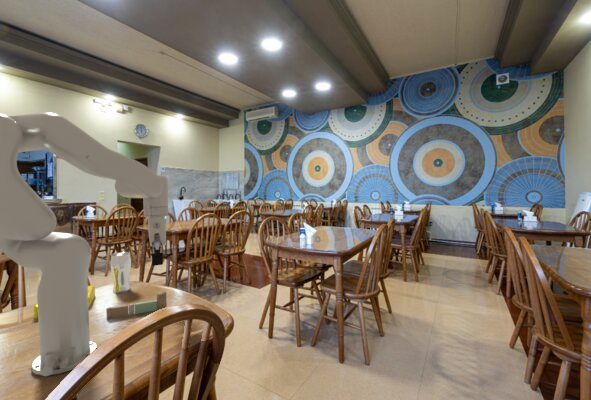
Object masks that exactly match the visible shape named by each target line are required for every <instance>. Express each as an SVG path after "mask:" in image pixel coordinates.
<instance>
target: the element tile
mask: <svg viewBox="0 0 591 400" xmlns="http://www.w3.org/2000/svg"><path fill="white" fill-rule="evenodd" d="M95 298H96V289H95V286H94V285H88V309H89V308H90V307H91V306H92V304H93V302H94V299H95ZM33 316H34V317H33V318H34V319H36V320H38V304H37V302H36V303H35V304H34V305H33Z"/></svg>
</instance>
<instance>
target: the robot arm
mask: <svg viewBox="0 0 591 400" xmlns="http://www.w3.org/2000/svg"><path fill="white" fill-rule="evenodd" d="M32 151H46V152H48V153H51V154H53V155H54V156H56V157H57V158H60V159H62V160H63V161H64V162H66V163H68V164H69V165H72V166H73V167H75V168H77V170H78V169H79V170H80V171H82V172H83V173H85V174H87V175H91V176H95V177H99V178H103V179H109V180H114V189H115V192H116V193H117V194H118V195H120V197H124V198H128V199H143V201H142V205H143V217H144V218H147V230H148V231H147V233H148V239H149V246H150V247H151V266H153V267H154V266H161V265H163V264H164V254H163V253H164V252H163V246H164V247H165V246H167V227H166V226H167V225H166V224H167V223H166V217H167V216H169V194H168V193H169V191H168V189H169V188H168V187H169V186H168V178H167V177H166V176H165V175H158V174H157V173H156V172H154V171H153V170H152V169H150V168H149V167H148V166H147V165H145V164H143V163H141V162H139V161H138V160H136V159H133V158H132V157H129V156H127V155H124V154H122V153H120V152H118V151H115V150H112V149H110V148H108V147H106V146H105V145H103V143H101V142H99V141H98V140H97V139H95V138H94V137H93V136H92V135H90V134H88V133H86V131H84V130H82V128H80V127H78V126H77V125H76V124H74V122H72V121H70V120H69V119H68V118H65V117H64V116H62V115H60V114H57V113H54V112H38V113H28V114H19V115H7V114H3V113H0V251H1V252H2V253H3V254H4V255H5V256H7V257H8V258H9V259H10V260H12V261H13V262H14V263H15V264H17V265H19V266H21V267H23V268H26V269H30V270H36V271H41V272H42V273H41V278H40V280H39V284H38V286H37V291H36V292H37V293H36V294H37V295H36V300H37V301H36V303H37V304H38V319H37V320H38V336H39V337H38V339H39V356H37V357H36V358H35V359H34V360H33V362H32V363H31V371H32V373H33V374H35V375H37V376H42V377H49V376H53V375H59V374H62V373H63V374H64V373H67V372H69V371H72V370H74V368H75V367H76V366H77V365H78V364H79V363H81V362H82V361H83V360H84V359H85V358H86V357H87V356H88V355H90V354H91V353H92V352H93V351H94V350H95V349H96V348H97V349H98V344H97V343H96V342H94V341H92V340H91V339H90V338H91V337H90V315H89V313H90V311H89V308H88V286H89V284H88V279H89V278H88V277H89V275H88V274H89V267H90V263H91V257H92V249H91V246H90V244H89V242H88V241H87V240H86V239H85V238H84V237H82V236H81V235H78V234H75V233H69V232H58V231H55V229H56V227H57V216H56V214H55V213H54V211H53V210H52V208H51V207H50V206H49V205H48V204H47V203H46V202H45V201H44V200H43V199H42V198H41V196H39V194H37V193H36V191H35V190H34V189H33V188H32V187H31V186H30V185H29V184H28V182H27V181H26V180H25V179H24V177H23V176H22V175H21V173H20V171H19V167H18V163H17V161H18V156H19V153H24V152H32ZM75 369H76V368H75Z"/></svg>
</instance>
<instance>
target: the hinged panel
mask: <svg viewBox="0 0 591 400" xmlns="http://www.w3.org/2000/svg"><path fill="white" fill-rule="evenodd" d="M165 307H167V292H166V291H164V290H163V291H159V292H157V293H156V299H154V300H148V301H141V302H136V303H134V315H139V314H144V313H150V312H156V311H158V310H159V309H162V308H165Z"/></svg>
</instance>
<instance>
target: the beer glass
mask: <svg viewBox="0 0 591 400" xmlns="http://www.w3.org/2000/svg"><path fill="white" fill-rule="evenodd" d="M131 270H132V259H131V252H130V251H120V252H114V253H111V255H110V271H111V275H112V280H113V288H112V292H113V293H114V294H123V293H126V292H128V290H129V291H130V290H131V284H130V275H131Z"/></svg>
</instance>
